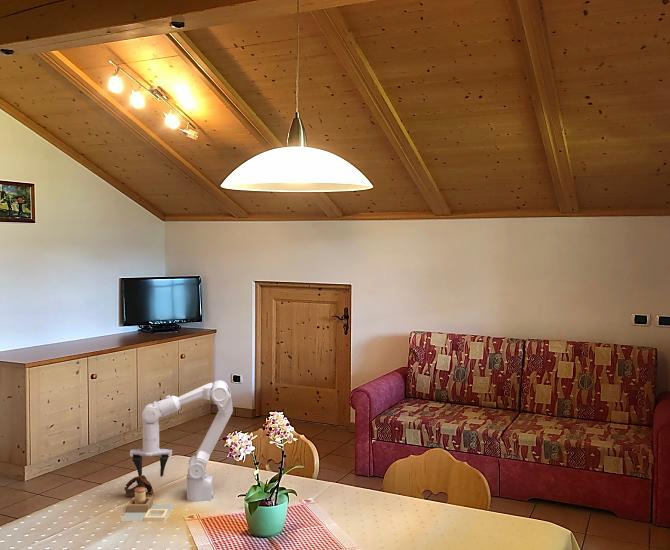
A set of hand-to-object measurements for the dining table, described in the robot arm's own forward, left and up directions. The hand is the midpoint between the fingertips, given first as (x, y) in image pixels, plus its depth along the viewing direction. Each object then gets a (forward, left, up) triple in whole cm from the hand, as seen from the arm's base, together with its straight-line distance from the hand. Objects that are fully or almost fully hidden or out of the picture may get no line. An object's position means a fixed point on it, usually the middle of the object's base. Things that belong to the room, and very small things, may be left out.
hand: (151, 475), depth 240 cm
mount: (-2, +11, -10) cm, 15 cm away
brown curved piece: (+6, -7, -10) cm, 13 cm away
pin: (+2, +8, -9) cm, 12 cm away
